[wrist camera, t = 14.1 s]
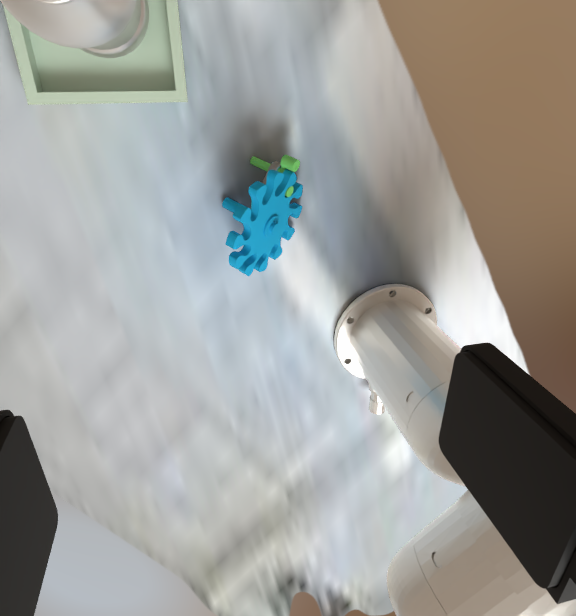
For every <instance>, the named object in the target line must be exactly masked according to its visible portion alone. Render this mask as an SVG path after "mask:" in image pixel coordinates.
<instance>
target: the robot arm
mask: <svg viewBox="0 0 576 616" xmlns="http://www.w3.org/2000/svg"><path fill="white" fill-rule="evenodd" d="M334 348H335V351H336V355H337V357H338V358H339V360H340V362H341V364H342V365H343V366H344V368H345V369H346V370H347V371H349V372H350V373H351V374H353V375H355V376H357V377H359V378H363V379H366V380H367V382H368V383H369V390H370V391H371V396H370V404H369V410H370V412H372V413H374V414H382V413H384V411H385V408H386V409H387V411H388V413H389V414H390V416H391V417H392V419H393V420H394V422H395V423H396V425H397V427H398V428H399V430H400V431H401V433H402V434H403V436H404V437H405V439H406V441H407V442H408V444H409V445H410V447H411V448H412V450H413V451H414V453H415V455H416V456H417V457H418V459H419V460H420V461H421V462H422V464H423V465H424V466H425V467H427V468H428V469H429V470H430V471H432V472H433V473H434V474H436V475H438V476H439V477H441V478H443V479H446V480H448V481H450V482H453V483H456V484H459V485H462V486H466V487H467V489H468V491H466V492H465V493H464V494H463V495H462V496H461V497H460V498H459V499H458V500H457V501H456V502H455V503H454V504H453V505H452V506H450V507H449V508H448V509H447V510H445V511H444V512H443V513H442V514H441V515H439V516H438V517H437V518H436V519H434V520H433V521H432V522H431V523H430V524H428V525H427V526H426V527H425V528H424V529H422V530H421V531H420V532H419V533H417V535H415V536H414V537H413V538H412V539H411V540H409V541H408V542H407V543H406V544H405V545H404V546H403V547H402V548H401V549H400V550H399V551H398V552H397V553H396V555H395V556H394V557H393V559H392V561H391V563H390V565H389V568H388V572H387V588H388V593H389V598H390V601H391V603H392V606H393V609H394V611H395V613H396V615H397V616H576V414H575V413H574V412H573V411H572V410H570V409H569V408H568V407H567V406H566V405H564V404H563V403H562V402H561V401H560V400H558V399H557V398H556V397H555V396H553V395H552V394H551V393H550V392H549V391H548V390H546V389H545V388H544V387H542V385H540V384H539V383H538V382H537V381H536V380H534V379H533V378H532V377H531V376H530V375H528V374H527V373H526V372H525V371H524V370H522V369H521V368H520V367H519V366H518V365H516V364H515V363H514V362H513V361H512V360H510V359H509V358H508V357H507V356H506V355H504V354H503V353H502V352H501V351H500V350H498V349H497V348H496V347H495V346H494V345H492V344H490V343H481V344H473V345H466V346H464V347H463V348H462V349H461V348H460V347H459V346H458V345H457V344H456V343H455V342H454V341H453V340H452V339H451V338H449V337H448V336H447V335H446V334H445V333H444V332H443V331H442V330H441V329H440V328H439V327H438V326H437V317H436V312H435V309H434V306H433V304H432V303H431V302H430V300H429V299H428V298H427V297H426V296H425V295H424V294H423V293H422V292H420V291H419V290H417V289H416V288H414V287H411V286H408V285H403V284H387V285H383V286H378V287H376V288H373V289H371V290H369V291H367V292H365V293H364V294H362V295H360V296H359V297H358V298H356V299H355V300H354V301H353V302H352V303H351V304H350V305H349V306H348V307H347V309H346V310H345V311H344V312H343V314H342V316H341V317H340V319H339V321H338V324H337V327H336V329H335V335H334ZM57 523H58V513H57V508H56V505H55V502H54V499H53V497H52V494H51V491H50V488H49V486H48V483H47V480H46V478H45V475H44V472H43V469H42V467H41V464H40V461H39V459H38V456H37V453H36V450H35V448H34V445H33V442H32V440H31V437H30V434H29V431H28V429H27V426H26V423H25V421H24V419H23V417H22V416H14V415H13V413H12V412H11V411H10V410H2V411H0V616H34V613H35V609H36V605H37V601H38V597H39V594H40V590H41V586H42V582H43V578H44V575H45V570H46V567H47V563H48V559H49V555H50V552H51V548H52V544H53V540H54V536H55V533H56V529H57Z"/></svg>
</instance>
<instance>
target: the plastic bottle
mask: <svg viewBox="0 0 576 616" xmlns="http://www.w3.org/2000/svg"><path fill="white" fill-rule="evenodd" d="M0 1H1V2H2V4H3V5H4V7H5V8H6V9H7V10H8V11H9V12H10V13H11V14H12V15H13V16H14V17H15V18H16V20H17V21H19V22H20V23H21V24H22V25H24V26H25V27H26V28H27V29H29V30H30V31H31V32H33V33H34V34H36V35H38V36H40V37H41V38H43V39H45V40H47V41H50V42H52V43H55V44H58V45H60V46H65V47H71V48H79V49H81V50H83V51H85V52H86V53H89V54H91V55H94V56H97V57H102V58H118V57H121V56H125V55H127V54H129V53H131V52H132V51H134V50H135V49H136V48H137V47H138V46H139V45H140V43H141V42H142V40H143V39H144V37H145V34H146V32H147V29H148V24H149V5H148V0H0Z"/></svg>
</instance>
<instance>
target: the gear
mask: <svg viewBox="0 0 576 616" xmlns="http://www.w3.org/2000/svg"><path fill="white" fill-rule="evenodd" d="M250 163H251V164H252V165H254V166H256V167H258V168H260V169H263V170H265V171H267V173H266V175H265V177H264V179H263V181H262V183H261V182H259V181H256V182H254V183H253V184H252V185H251V186H250V187H249V190H248V191H249V195H250V197H251V202H252V204H251V207H250V208H248V207H246V206H244V205H242V204H240V203H238V202H236V201H234V200H232V199H230V198H228V197H227V198H225V199H224V201H223V203H222V206H223V207H224V208H226V209H227V210H229V211H231V212H233V213H234V214H233V218H234V219H236V220H237V221H239V222H241V223H243V226H244V231H243V233H242V234H241V235H240V234H239V233H237V232H235V231H231V232H230V233H229V235H228V237H227V241H226V245H227V246H229V247H231V248H233V249H238V248H239V247H241V246H242V245H244V246H243V249H242V250H241V251H240V252H236V251H234V252H232V253H231V254H230V255H229V264H230V265H231V266H232V267H234V268H236V269H239V271H241V272H242V273H244V274H246V275H247V276H250V275H251V273H252V272H253V269H256V270H257V271H259V272H261V271H264V270H265V269H266V268H267V262H268V257H271V258H273V259H274V260H275V259H276V258H278V257H279V256H280V255H281V253H282V248H281V246H280V241H281V237H283V238H284V239H286V240H289V239H290V238H291V237H292V235H293V233H294V232H295V230H294V228H292V227H290V226H289V225H288V218H289V216H292V217H294V218H298V217H299V215H300V213H301V210H302V206H301V205H299V204H297V203H295V202H293V203H292V204H290V201H291V199H292V198H296V199H298V198H300V197H301V195H302V189H303V186H302V185H301V184H299V183H297V182H296V180H297V177H296V175H295V173H294V172H296V171H297V170H298V168H299V165H300V161H299V160H297V159H295V158H292V157H290V156H288V155H284V156H283V157H282V159H281V163H280V162H278V161H274V162H272V163H271V164H270V163H267V162H265V161H263V160H261V159H259V158H257V157H254V156H253V157H252V158H251V160H250ZM288 169H289V170H288ZM290 170H291V171H290ZM292 171H293V172H292ZM289 204H290V205H289Z"/></svg>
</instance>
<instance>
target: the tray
mask: <svg viewBox="0 0 576 616" xmlns="http://www.w3.org/2000/svg"><path fill="white" fill-rule="evenodd" d="M148 5H149V24H148V29H147V32H146V34H145V37H144V39H143V40H142V42H141V43H140V45H139V46H138V47H137V48H136V49H135V50H134V51H132V52H131V53H129V54H127V55H125V56H121V57H118V58H102V57H97V56H94V55H91V54H89V53H86V52H85V51H83V50H81V49H79V48H71V47H65V46H60V45H58V44H55V43H52V42H50V41H47V40H45V39H43V38H41V37H40V36H38V35H36V34H34V33H33V32H31V31H30V30H29V29H27V28H26V27H25V26H24V25H22V24H21V23H20V22H19V21H17V20H16V18H15V17H14V16H13V15H12V14H11V13H10V12H9V11H8V10H7V9H6V8H5V7H4V5H3V7H4V11H5V15H6V19H7V23H8V27H9V31H10V35H11V39H12V43H13V47H14V51H15V55H16V58H17V62H18V66H19V70H20V74H21V78H22V82H23V86H24V90H25V94H26V98H27V102H28V105H39V104H96V103H152V102H188V101H187V91H186V81H185V71H184V61H183V51H182V42H181V32H180V22H179V12H178V2H177V0H148Z"/></svg>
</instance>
